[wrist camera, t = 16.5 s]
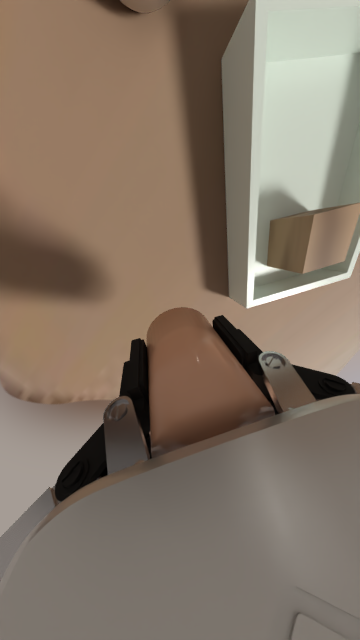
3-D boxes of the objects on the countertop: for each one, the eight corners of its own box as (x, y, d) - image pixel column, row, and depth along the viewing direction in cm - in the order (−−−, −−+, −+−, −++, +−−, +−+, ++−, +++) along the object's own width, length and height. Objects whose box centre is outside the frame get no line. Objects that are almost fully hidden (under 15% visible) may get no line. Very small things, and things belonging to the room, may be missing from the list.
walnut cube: (308, 210, 18) (363, 201, 13) (300, 256, 20) (344, 261, 16) (270, 220, 17) (314, 214, 13) (266, 266, 20) (302, 273, 15)
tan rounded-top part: (206, 299, 11) (284, 379, 5) (212, 351, 14) (267, 444, 8) (137, 318, 11) (130, 430, 5) (156, 368, 13) (168, 481, 7)
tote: (377, 44, 13) (460, -24, 10) (318, 271, 23) (350, 277, 20) (221, 59, 12) (256, -16, 8) (229, 297, 21) (246, 308, 18)
